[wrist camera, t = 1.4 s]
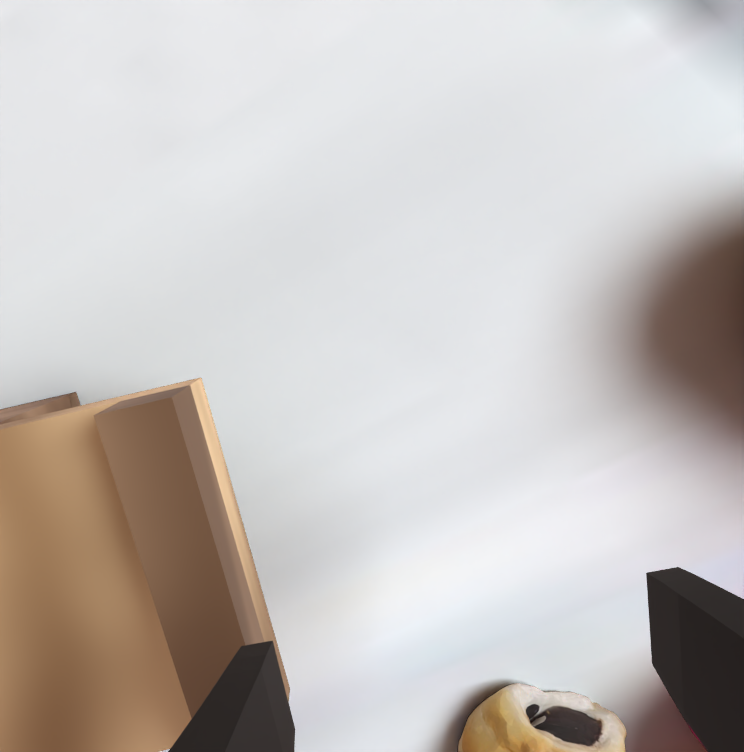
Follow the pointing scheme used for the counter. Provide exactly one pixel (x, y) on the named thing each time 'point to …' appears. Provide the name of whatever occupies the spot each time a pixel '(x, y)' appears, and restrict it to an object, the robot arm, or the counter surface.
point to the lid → (119, 573)
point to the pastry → (541, 723)
